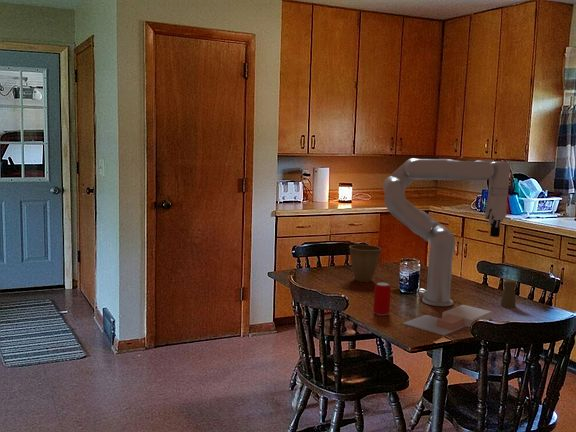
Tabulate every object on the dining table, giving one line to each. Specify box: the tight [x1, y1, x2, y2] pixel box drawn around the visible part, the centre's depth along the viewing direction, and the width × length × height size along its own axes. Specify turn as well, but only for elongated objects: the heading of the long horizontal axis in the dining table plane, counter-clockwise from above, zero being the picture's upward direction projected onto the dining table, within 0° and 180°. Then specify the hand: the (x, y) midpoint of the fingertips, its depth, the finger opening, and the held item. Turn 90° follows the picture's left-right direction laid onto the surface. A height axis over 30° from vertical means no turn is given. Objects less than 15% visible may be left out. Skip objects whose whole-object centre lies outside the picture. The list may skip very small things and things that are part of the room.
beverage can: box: [373, 282, 392, 317], centre depth 236 cm, size 6×6×12 cm
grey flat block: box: [441, 304, 492, 328], centre depth 234 cm, size 12×16×3 cm
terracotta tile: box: [437, 315, 464, 330], centre depth 224 cm, size 6×9×2 cm, turn 137°
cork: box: [499, 279, 517, 309], centre depth 253 cm, size 6×6×11 cm
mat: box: [402, 314, 466, 337], centre depth 225 cm, size 17×16×1 cm
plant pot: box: [349, 244, 382, 283], centre depth 288 cm, size 15×15×16 cm
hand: (494, 236), depth 250 cm, fingers closed
